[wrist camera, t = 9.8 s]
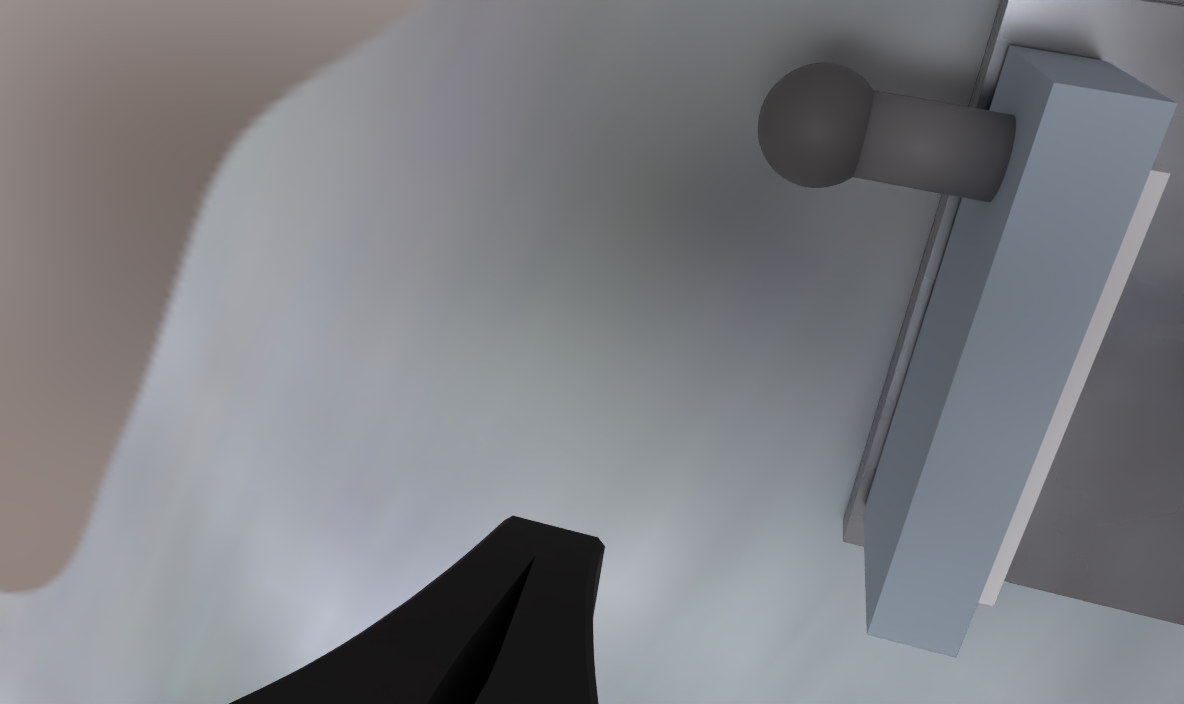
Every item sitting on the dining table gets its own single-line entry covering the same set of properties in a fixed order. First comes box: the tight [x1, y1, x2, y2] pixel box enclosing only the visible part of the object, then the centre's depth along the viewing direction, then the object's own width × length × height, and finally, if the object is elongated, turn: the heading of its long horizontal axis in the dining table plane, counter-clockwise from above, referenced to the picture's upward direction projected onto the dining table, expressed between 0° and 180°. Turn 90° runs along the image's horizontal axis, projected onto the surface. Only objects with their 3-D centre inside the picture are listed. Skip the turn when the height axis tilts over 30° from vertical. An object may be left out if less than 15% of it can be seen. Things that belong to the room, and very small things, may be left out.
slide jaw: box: [758, 45, 1178, 657], centre depth 17 cm, size 6×10×4 cm, turn 174°
